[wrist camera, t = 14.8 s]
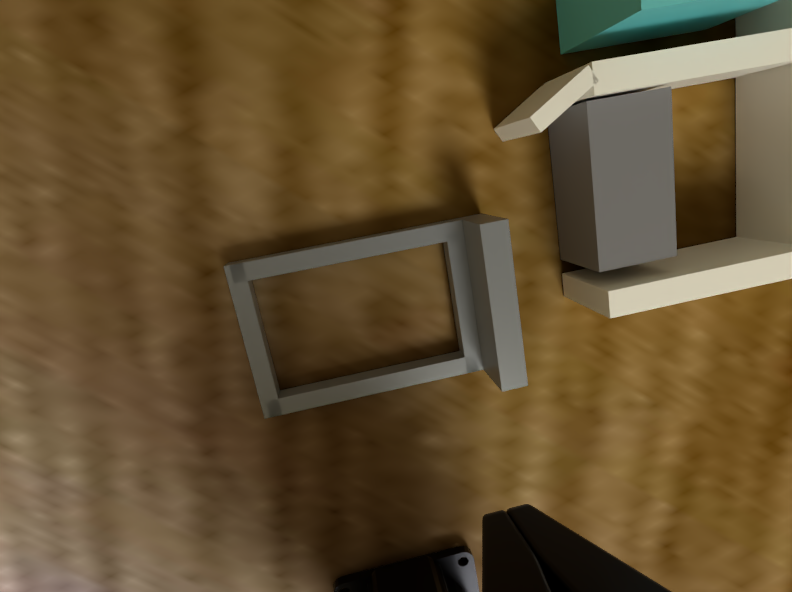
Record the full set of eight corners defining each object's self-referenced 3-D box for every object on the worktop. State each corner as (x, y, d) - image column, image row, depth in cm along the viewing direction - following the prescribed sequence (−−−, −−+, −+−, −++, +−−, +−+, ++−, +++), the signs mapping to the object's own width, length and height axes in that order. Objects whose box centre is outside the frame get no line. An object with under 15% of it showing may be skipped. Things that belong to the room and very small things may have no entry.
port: (514, 306, 21) (551, 331, 17) (459, -152, 17) (493, -238, 13) (756, 254, 22) (836, 268, 18) (760, -189, 18) (863, -277, 14)
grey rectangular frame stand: (481, 213, 19) (508, 218, 17) (500, 357, 21) (527, 385, 18) (227, 263, 19) (209, 277, 16) (267, 409, 20) (256, 447, 17)
